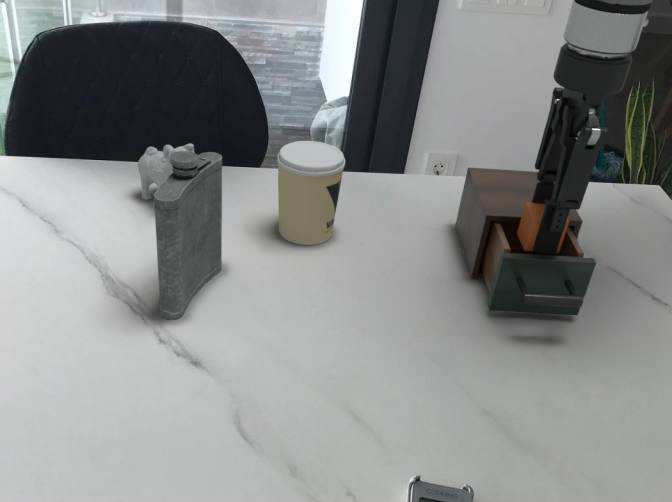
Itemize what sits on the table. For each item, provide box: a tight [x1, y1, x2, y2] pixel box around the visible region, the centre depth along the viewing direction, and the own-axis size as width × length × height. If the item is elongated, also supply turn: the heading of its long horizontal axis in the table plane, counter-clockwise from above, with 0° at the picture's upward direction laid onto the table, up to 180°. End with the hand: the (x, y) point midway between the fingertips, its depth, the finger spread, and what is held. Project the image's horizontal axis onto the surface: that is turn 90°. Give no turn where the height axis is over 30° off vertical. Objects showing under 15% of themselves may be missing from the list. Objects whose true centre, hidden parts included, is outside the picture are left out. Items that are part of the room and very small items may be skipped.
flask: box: [153, 151, 223, 321], centre depth 94 cm, size 4×14×18 cm, turn 160°
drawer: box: [480, 221, 597, 317], centre depth 99 cm, size 18×11×8 cm, turn 179°
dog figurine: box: [137, 143, 196, 201], centre depth 114 cm, size 5×13×11 cm, turn 44°
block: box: [517, 203, 569, 253], centre depth 96 cm, size 4×4×4 cm
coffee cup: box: [276, 140, 346, 246], centre depth 109 cm, size 9×9×12 cm
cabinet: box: [454, 167, 584, 280], centre depth 109 cm, size 15×13×10 cm
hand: (539, 241), depth 98 cm, fingers closed on block, 4 cm apart
